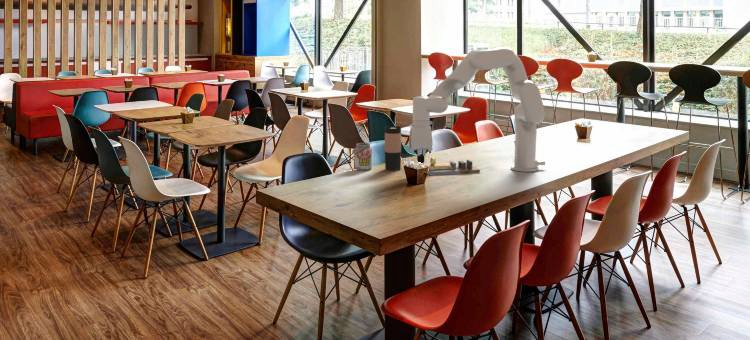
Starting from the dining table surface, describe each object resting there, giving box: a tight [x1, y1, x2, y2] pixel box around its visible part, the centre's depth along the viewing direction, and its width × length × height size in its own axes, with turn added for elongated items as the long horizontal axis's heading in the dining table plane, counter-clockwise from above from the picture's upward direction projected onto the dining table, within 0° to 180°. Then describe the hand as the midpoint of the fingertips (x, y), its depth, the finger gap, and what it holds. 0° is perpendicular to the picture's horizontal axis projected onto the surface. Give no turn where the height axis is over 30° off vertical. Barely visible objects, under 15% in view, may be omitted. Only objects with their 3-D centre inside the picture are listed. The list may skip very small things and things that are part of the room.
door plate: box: [427, 160, 460, 176], centre depth 313 cm, size 14×9×5 cm, turn 101°
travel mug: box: [384, 125, 402, 172], centre depth 319 cm, size 8×8×20 cm
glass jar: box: [351, 142, 373, 171], centre depth 321 cm, size 9×8×12 cm
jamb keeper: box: [456, 159, 481, 175], centre depth 315 cm, size 10×9×5 cm
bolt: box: [426, 157, 453, 170], centre depth 312 cm, size 12×2×5 cm, turn 101°
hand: (420, 163), depth 310 cm, fingers closed
